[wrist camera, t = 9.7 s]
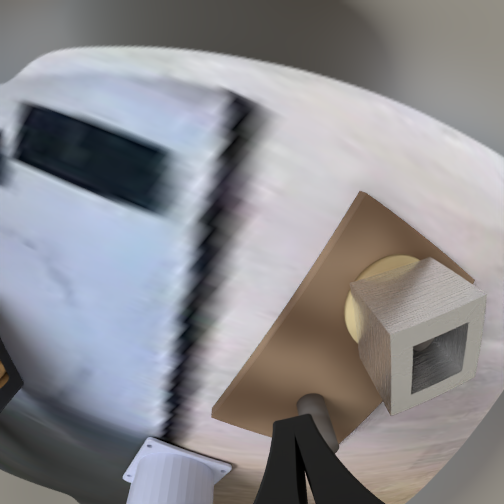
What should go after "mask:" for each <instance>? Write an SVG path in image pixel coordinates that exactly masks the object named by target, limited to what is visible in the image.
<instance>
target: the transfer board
mask: <svg viewBox="0 0 504 504" xmlns="http://www.w3.org/2000/svg"><path fill="white" fill-rule="evenodd" d="M428 257H431V258H433V259H435V260H436V261H438V262H439V263H441V264H442V265H444V266H446V267H447V268H449V269H450V270H452V271H453V272H455V273H456V274H458V275H459V276H461V277H462V278H464V279H465V280H467V281H468V282H470V283H471V284H473V283H474V281H475V280H474V279H473V278H472V277H471V276H469V275H468V274H467V273H466V272H465V271H464V270H463V269H462V268H460V267H459V266H458V265H457V264H456V263H455V262H454V261H452V260H451V259H450V258H449V257H448V256H447V255H445V254H444V253H443V252H442V251H441V250H440V249H438V248H437V247H436V246H435V245H433V244H432V243H431V242H430V241H429V240H427V239H426V238H425V237H424V236H422V235H421V234H420V233H419V232H417V231H416V230H415V229H414V228H412V227H411V226H410V225H409V224H407V223H406V222H405V221H403V220H402V219H401V218H399V217H398V216H397V215H396V214H394V213H393V212H392V211H390V210H389V209H387V208H386V207H385V206H383V205H382V204H381V203H379V202H378V201H377V200H375V199H374V198H372V197H371V196H370V195H368V194H367V193H365V192H362V191H359V193H358V195H357V196H356V198H355V200H354V201H353V203H352V205H351V206H350V208H349V210H348V211H347V213H346V214H345V216H344V218H343V219H342V221H341V222H340V224H339V226H338V227H337V229H336V230H335V232H334V234H333V235H332V237H331V238H330V240H329V241H328V243H327V245H326V246H325V248H324V249H323V251H322V252H321V254H320V256H319V257H318V259H317V260H316V262H315V263H314V265H313V266H312V268H311V269H310V271H309V272H308V274H307V275H306V277H305V278H304V280H303V281H302V283H301V284H300V286H299V287H298V289H297V290H296V292H295V293H294V295H293V296H292V298H291V299H290V301H289V302H288V304H287V305H286V307H285V308H284V310H283V311H282V312H281V314H280V315H279V317H278V318H277V320H276V321H275V323H274V324H273V325H272V327H271V328H270V330H269V331H268V333H267V334H266V335H265V337H264V338H263V340H262V341H261V343H260V344H259V345H258V347H257V348H256V350H255V351H254V352H253V354H252V355H251V356H250V358H249V359H248V361H247V362H246V363H245V365H244V366H243V367H242V369H241V370H240V372H239V373H238V374H237V376H236V377H235V378H234V380H233V381H232V382H231V384H230V385H229V386H228V388H227V389H226V390H225V392H224V393H223V394H222V396H221V397H220V398H219V400H218V401H217V402H216V404H215V405H214V406H213V407H212V416H211V417H212V418H214V419H217V420H220V421H223V422H226V423H228V424H231V425H234V426H237V427H240V428H243V429H246V430H249V431H252V432H256V433H259V434H262V435H266V436H269V437H272V432H273V423H274V422H275V421H278V420H282V419H287V418H291V417H295V416H300V415H304V414H308V413H309V414H311V415H312V417H313V420H314V422H315V424H316V426H317V428H318V430H319V432H320V433H321V435H322V437H323V438H324V440H325V441H326V443H327V444H328V446H329V447H330V448H331V450H332V451H333V452H334V454H335V453H336V452H337V451H338V449H339V443H340V442H341V441H343V440H344V439H345V438H346V437H347V436H348V435H349V434H350V433H351V432H352V431H353V430H354V429H355V428H356V427H357V426H358V425H359V424H361V423H362V422H363V421H364V420H365V419H366V418H367V417H368V416H369V415H370V414H371V413H372V412H373V411H374V409H375V408H376V407H377V406H378V405H379V404H380V403H381V402H382V401H383V400H382V398H381V396H380V394H379V393H378V391H377V389H376V387H375V385H374V383H373V381H372V379H371V378H370V376H369V374H368V372H367V370H366V368H365V366H364V365H363V363H362V361H361V359H360V357H359V349H358V340H357V332H356V324H355V316H354V309H353V302H352V295H351V288H350V283H351V282H355V281H358V280H361V279H364V278H368V277H371V276H374V275H377V274H380V273H383V272H386V271H390V270H393V269H396V268H399V267H402V266H405V265H408V264H411V263H414V262H417V261H420V260H423V259H426V258H428ZM433 340H434V338H432V339H430V340H427V341H425V342H422V343H420V344H418V345H415V346H413V350H414V351H420V350H423V349H425V348H427V347H428V346H429V345H430V344H431V343H432V341H433Z"/></svg>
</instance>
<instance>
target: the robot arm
mask: <svg viewBox="0 0 504 504" xmlns="http://www.w3.org/2000/svg"><path fill="white" fill-rule="evenodd" d="M231 469H232V466H231V465H230V464H228V463H224V462H221V461H218V460H214V459H211V458H208V457H205V456H202V455H199V454H196V453H193V452H190V451H187V450H184V449H182V448H179V447H176V446H173V445H171V444H168V443H166V442H163V441H161V440H158V439H156V438H153V437H149V438H147V439H146V441H145V442H144V444H143V445H142V447H141V448H140V450H139V452H138V453H137V455H136V456H135V458H134V459H133V461H132V463H131V464H130V466H129V467H128V469H127V470H126V472H125V473H124V475H123V479H124V480H125V481H128V482H130V483H131V487H130V491H129V495H128V499H127V503H126V504H213V491H214V485H215V484H216V483H217V482H218V481H219V480H221V479H222V478H223V477H224V476H225V475H226V474H227V473H228V472H230V471H231ZM305 472H306V476H307V479H308V482H309V485H310V488H311V491H312V494H313V497H314V500H315V503H316V504H385V503H384V502H382V501H381V500H380V499H378V498H377V497H376V496H375V495H373V494H372V493H371V492H370V491H369V490H368V489H366V488H365V487H364V486H363V485H362V484H361V483H360V482H359V481H358V480H357V479H356V478H355V477H354V476H353V475H352V474H351V473H350V472H349V471H348V469H347V468H346V467H345V466H344V465H343V464H342V463H341V461H340V460H339V459H338V458H337V456H336V455H335V454H334V452H333V451H332V450H331V448H330V447H329V446H328V444H327V443H326V441H325V440H324V438H323V437H322V435H321V433H320V432H319V430H318V428H317V426H316V424H315V422H314V420H313V417H312V415H311V414H309V413H308V414H304V415H300V416H295V417H291V418H287V419H282V420H278V421H275V422H274V423H273V432H272V441H271V447H270V453H269V457H268V461H267V465H266V469H265V473H264V476H263V479H262V482H261V485H260V488H259V491H258V493H257V496H256V498H255V501H254V503H253V504H308V500H307V489H306V479H305Z"/></svg>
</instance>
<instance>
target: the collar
mask: <svg viewBox="0 0 504 504" xmlns="http://www.w3.org/2000/svg"><path fill="white" fill-rule="evenodd" d="M350 288H351V295H352V302H353V309H354V316H355V324H356V332H357V340H358V349H359V357H360V359H361V361H362V363H363V365H364V366H365V368H366V370H367V372H368V374H369V376H370V378H371V379H372V381H373V383H374V385H375V387H376V389H377V391H378V393H379V394H380V396H381V398H382V400H383V402H384V404H385V406H386V408H387V410H388V412H389V413H390V415H391V416H392V415H395V414H398V413H400V412H402V411H405V410H407V409H410V408H412V407H414V406H417V405H419V404H421V403H424V402H426V401H428V400H430V399H432V398H435V397H437V396H439V395H441V394H443V393H445V392H447V391H449V390H451V389H453V388H455V387H457V386H459V385H461V384H463V383H465V382H467V381H469V380H470V379H472V378H474V377H475V373H476V368H477V362H478V357H479V351H480V345H481V339H482V332H483V325H484V316H485V307H486V296H487V294H486V293H484V292H483V291H481V290H480V289H479V288H477V287H476V286H474V285H473V284H471V283H470V282H468V281H467V280H465V279H464V278H462V277H461V276H459V275H458V274H456V273H455V272H453V271H452V270H450V269H449V268H447V267H446V266H444V265H442V264H441V263H439V262H438V261H436V260H435V259H433V258H431V257H428V258H426V259H423V260H420V261H417V262H414V263H411V264H408V265H405V266H402V267H399V268H396V269H393V270H390V271H386V272H383V273H380V274H377V275H374V276H371V277H368V278H364V279H361V280H358V281H355V282H351V283H350ZM432 338H434V340H433V341H432V343H431V344H430V345H429V346H428V347H427V348H425V349H423V350H420V351H414V350H413V346H415V345H418V344H420V343H422V342H425V341H427V340H430V339H432Z"/></svg>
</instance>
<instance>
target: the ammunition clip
mask: <svg viewBox="0 0 504 504" xmlns="http://www.w3.org/2000/svg"><path fill="white" fill-rule="evenodd" d="M23 384H24V382H23V380H22V378H21V376H20V375H19V373H18V371H17V369H16V367H15V366H14V364H13V362H12V360H11V358H10V356H9V354H8V352H7V350H6V348H5V346H4V344H3V342H2V340H1V338H0V413H1V411H2V410H3V409H4V408H5V406H6V405H7V404H8V403H9V401H10V400H11V399H12V398H13V396H14V395H15V394H16V393H17V392H18V390H19V389H20V388H21V387H22V386H23Z"/></svg>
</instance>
